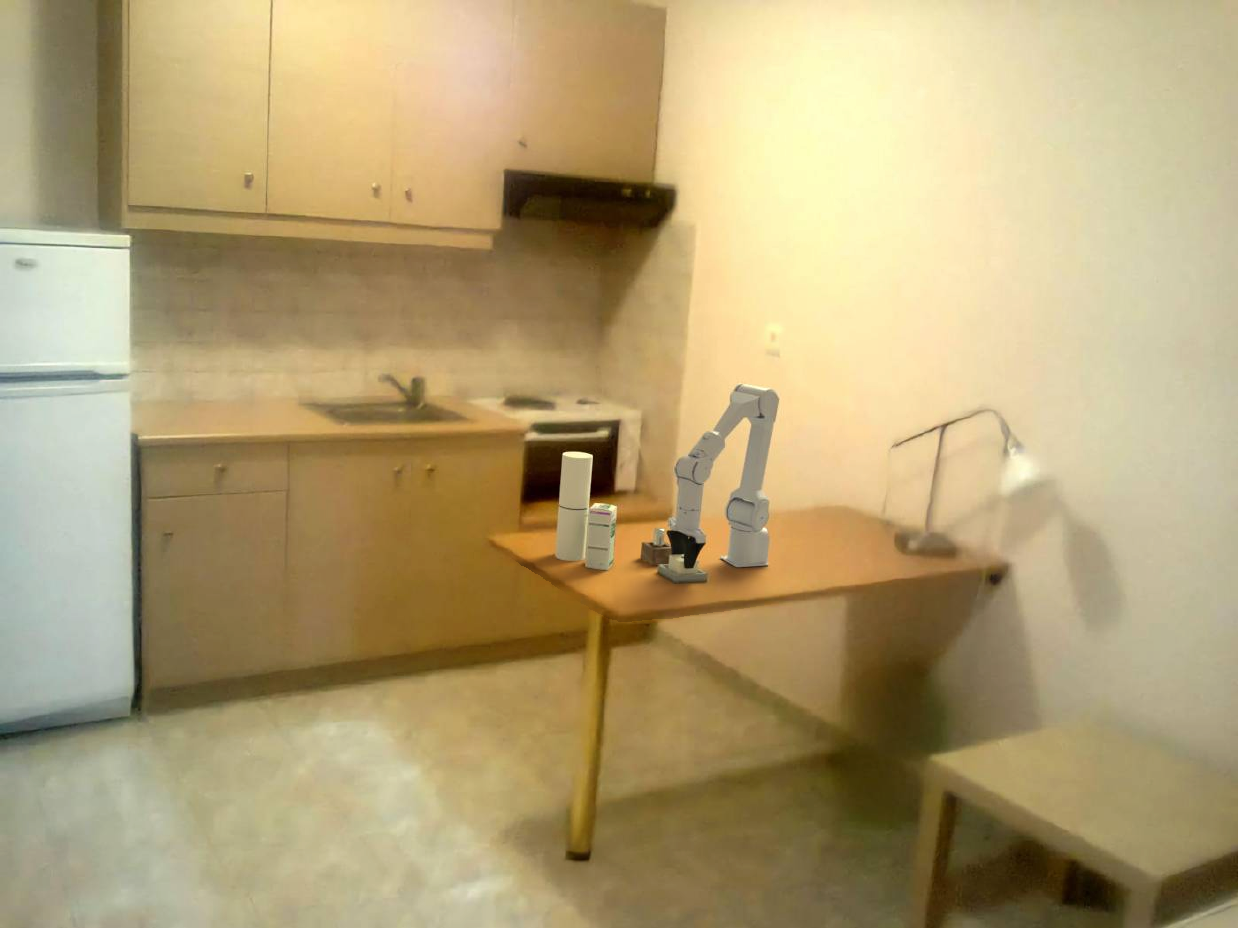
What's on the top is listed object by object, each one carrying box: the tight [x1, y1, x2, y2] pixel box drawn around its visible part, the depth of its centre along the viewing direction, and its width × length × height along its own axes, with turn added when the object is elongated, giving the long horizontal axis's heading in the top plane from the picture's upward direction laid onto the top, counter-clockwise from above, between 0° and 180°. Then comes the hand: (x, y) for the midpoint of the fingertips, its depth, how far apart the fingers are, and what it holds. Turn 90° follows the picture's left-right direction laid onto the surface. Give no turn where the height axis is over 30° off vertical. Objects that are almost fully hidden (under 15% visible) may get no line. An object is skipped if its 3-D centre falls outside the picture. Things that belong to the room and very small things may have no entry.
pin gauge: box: [652, 527, 666, 548], centre depth 259 cm, size 3×3×8 cm
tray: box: [657, 564, 708, 584], centre depth 249 cm, size 8×8×2 cm
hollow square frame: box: [640, 540, 672, 566], centre depth 259 cm, size 6×6×4 cm
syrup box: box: [584, 502, 618, 571], centre depth 251 cm, size 6×6×14 cm
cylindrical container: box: [554, 451, 594, 562], centre depth 255 cm, size 7×7×25 cm
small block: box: [668, 554, 700, 575], centre depth 249 cm, size 5×5×4 cm
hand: (683, 564), depth 249 cm, fingers closed on small block, 5 cm apart
